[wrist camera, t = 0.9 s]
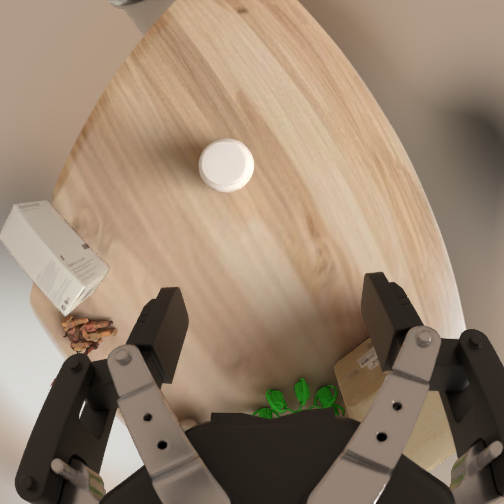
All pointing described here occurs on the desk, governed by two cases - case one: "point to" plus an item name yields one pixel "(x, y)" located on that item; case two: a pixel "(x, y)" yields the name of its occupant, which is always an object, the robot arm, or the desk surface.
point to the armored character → (85, 333)
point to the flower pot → (367, 387)
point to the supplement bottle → (226, 165)
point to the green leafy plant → (302, 395)
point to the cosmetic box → (52, 254)
